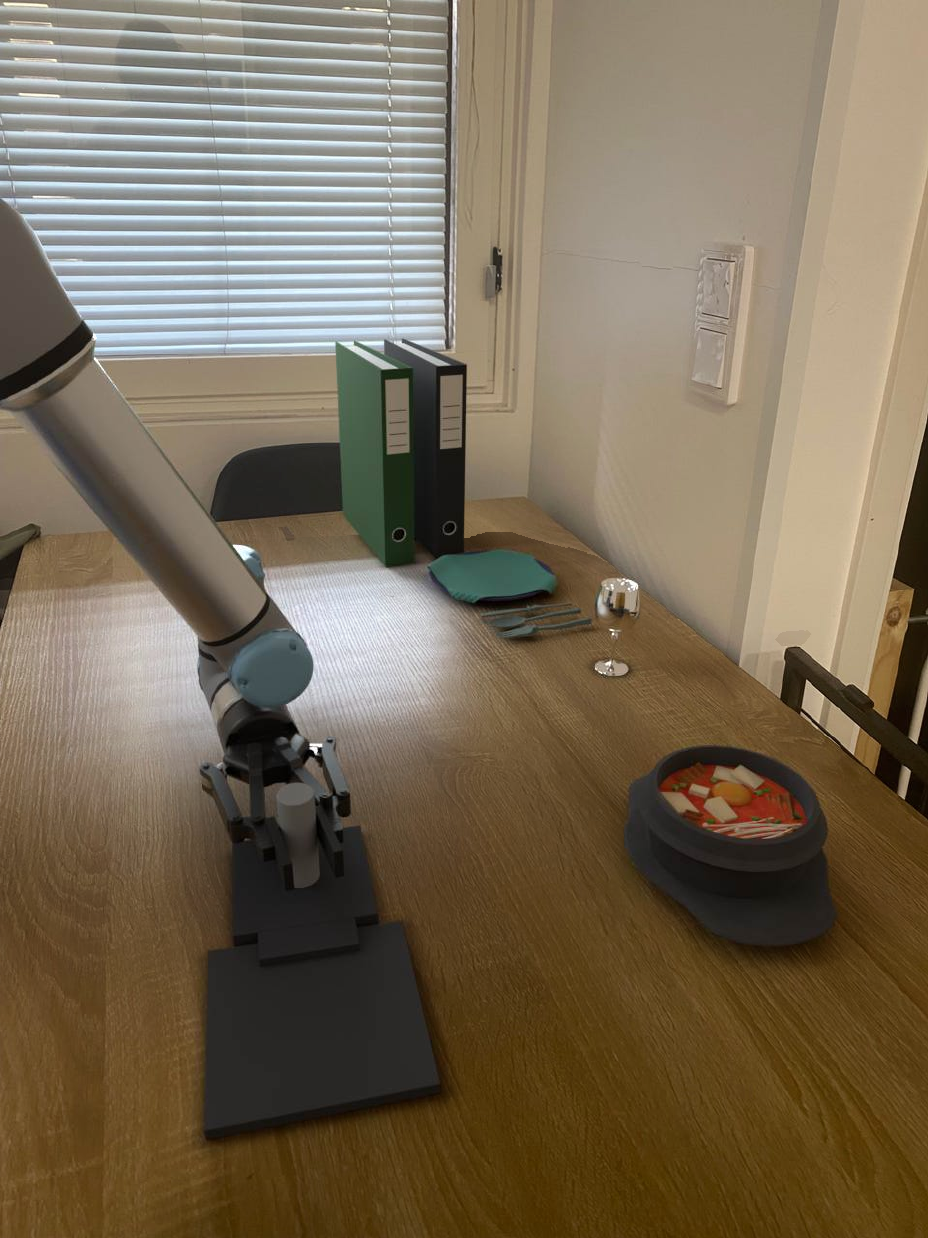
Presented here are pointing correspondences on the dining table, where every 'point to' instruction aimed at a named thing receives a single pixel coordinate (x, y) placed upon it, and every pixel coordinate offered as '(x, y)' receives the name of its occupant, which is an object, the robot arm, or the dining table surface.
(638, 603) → the wineglass
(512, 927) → the dining table surface
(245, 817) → the robot arm
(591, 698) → the dining table surface
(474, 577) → the cutlery set
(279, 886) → the black base with peg
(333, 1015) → the black pad
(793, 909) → the casserole
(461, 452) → the binder
